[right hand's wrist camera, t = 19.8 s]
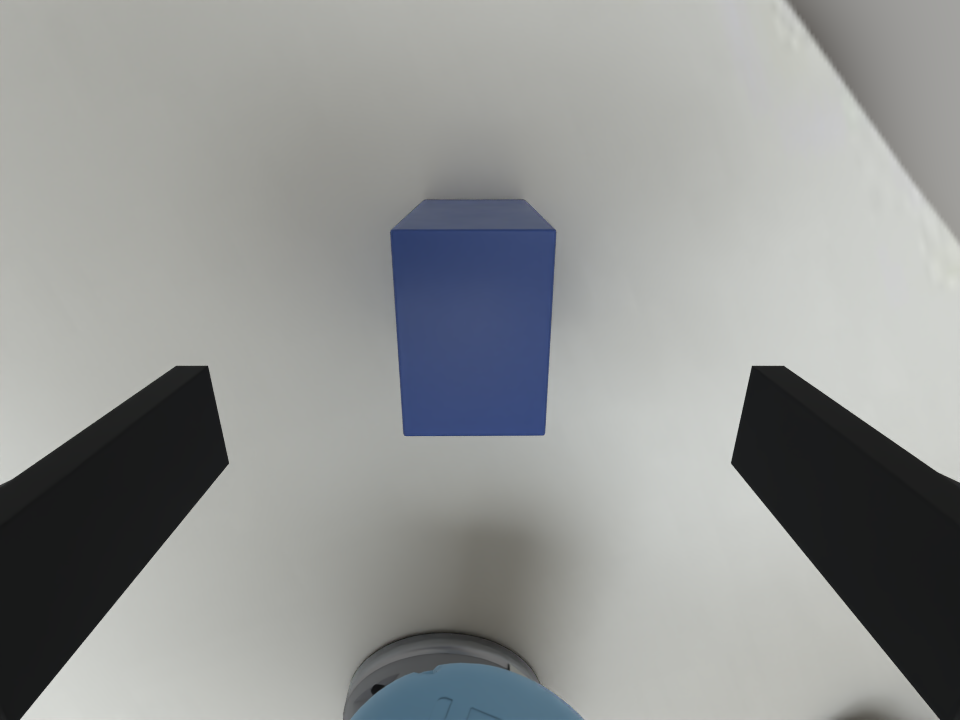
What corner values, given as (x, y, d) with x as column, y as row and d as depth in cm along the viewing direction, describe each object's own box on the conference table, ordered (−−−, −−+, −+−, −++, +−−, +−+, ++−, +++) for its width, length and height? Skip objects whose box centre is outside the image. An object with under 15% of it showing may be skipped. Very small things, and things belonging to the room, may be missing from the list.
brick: (428, 337, 29) (403, 437, 19) (423, 199, 26) (389, 229, 16) (520, 336, 29) (545, 436, 19) (525, 199, 26) (557, 229, 16)
